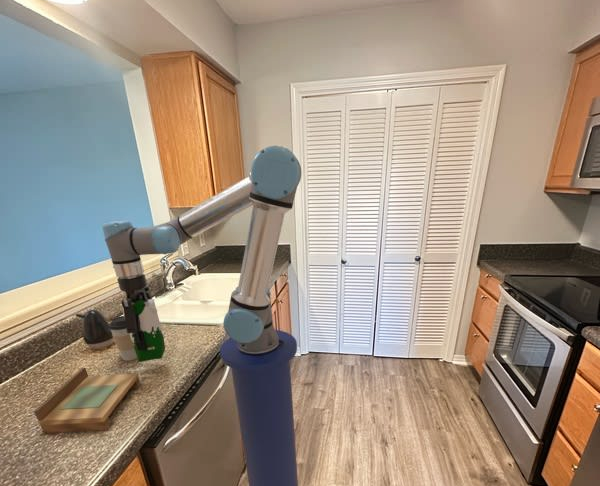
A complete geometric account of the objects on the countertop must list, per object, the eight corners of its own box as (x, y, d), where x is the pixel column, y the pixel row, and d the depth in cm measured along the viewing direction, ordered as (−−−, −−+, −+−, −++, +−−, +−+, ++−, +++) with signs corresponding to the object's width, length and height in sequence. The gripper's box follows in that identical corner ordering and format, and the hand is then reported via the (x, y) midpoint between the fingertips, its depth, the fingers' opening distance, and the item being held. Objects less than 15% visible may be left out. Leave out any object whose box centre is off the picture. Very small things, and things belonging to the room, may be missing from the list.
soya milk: (135, 363, 102) (117, 304, 94) (141, 350, 110) (125, 295, 102) (164, 359, 103) (148, 300, 95) (168, 346, 111) (154, 291, 103)
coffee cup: (121, 352, 120) (110, 315, 114) (147, 347, 123) (137, 311, 117) (116, 364, 112) (104, 324, 107) (144, 359, 115) (134, 320, 109)
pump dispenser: (92, 342, 129) (80, 307, 123) (120, 338, 131) (109, 303, 125) (82, 354, 120) (69, 317, 114) (112, 350, 122) (101, 313, 116)
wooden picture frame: (140, 384, 100) (135, 364, 98) (106, 429, 82) (98, 407, 79) (89, 386, 100) (82, 367, 97) (43, 433, 82) (33, 411, 79)
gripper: (134, 267, 106) (151, 329, 115) (97, 287, 86) (121, 360, 95) (157, 265, 106) (172, 327, 115) (125, 285, 86) (147, 359, 95)
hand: (149, 342), depth 105 cm, fingers closed on soya milk, 9 cm apart
